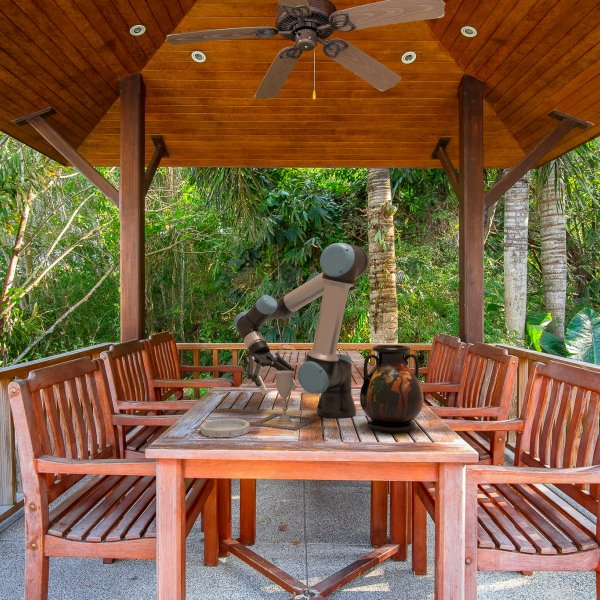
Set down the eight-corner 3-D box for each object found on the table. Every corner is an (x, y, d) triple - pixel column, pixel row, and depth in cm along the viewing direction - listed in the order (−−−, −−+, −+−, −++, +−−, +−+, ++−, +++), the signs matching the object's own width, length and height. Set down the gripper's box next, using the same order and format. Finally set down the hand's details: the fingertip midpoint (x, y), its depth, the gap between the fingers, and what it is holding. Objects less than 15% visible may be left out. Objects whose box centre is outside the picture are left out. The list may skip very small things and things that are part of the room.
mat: (317, 419, 189) (317, 418, 189) (296, 430, 173) (295, 429, 173) (274, 414, 197) (274, 413, 197) (250, 425, 181) (250, 423, 181)
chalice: (286, 425, 180) (286, 374, 180) (271, 423, 184) (270, 372, 183) (298, 421, 186) (297, 371, 186) (282, 418, 190) (282, 370, 190)
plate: (258, 428, 176) (258, 421, 176) (232, 440, 161) (232, 432, 161) (219, 423, 183) (219, 417, 183) (191, 434, 168) (191, 427, 168)
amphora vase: (366, 437, 165) (366, 350, 164) (354, 421, 186) (354, 343, 186) (432, 435, 166) (432, 349, 166) (413, 419, 188) (413, 343, 187)
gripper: (278, 350, 207) (302, 392, 196) (225, 354, 192) (247, 401, 180) (286, 337, 203) (311, 380, 192) (232, 341, 188) (256, 388, 176)
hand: (280, 390), depth 186 cm, fingers open, 13 cm apart
